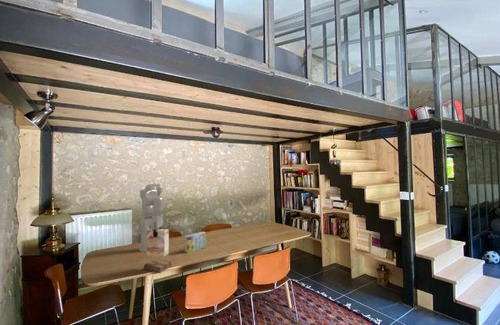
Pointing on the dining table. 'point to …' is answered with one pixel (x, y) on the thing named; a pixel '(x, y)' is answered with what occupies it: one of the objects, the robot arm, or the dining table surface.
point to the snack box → (194, 242)
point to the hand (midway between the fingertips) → (157, 235)
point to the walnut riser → (157, 266)
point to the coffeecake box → (158, 243)
